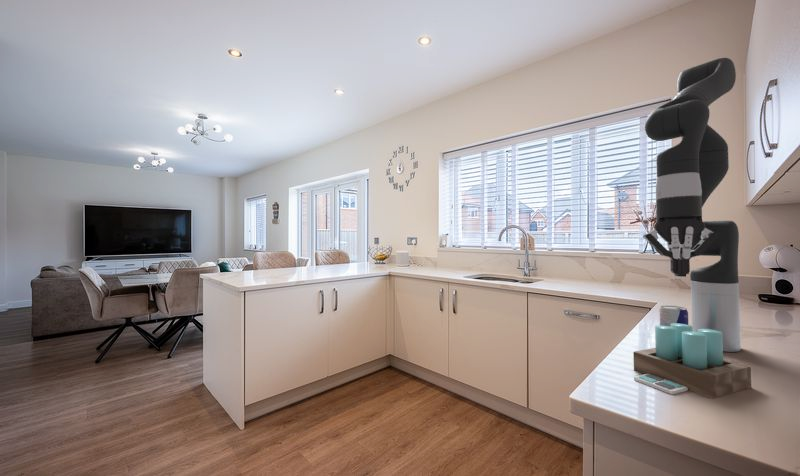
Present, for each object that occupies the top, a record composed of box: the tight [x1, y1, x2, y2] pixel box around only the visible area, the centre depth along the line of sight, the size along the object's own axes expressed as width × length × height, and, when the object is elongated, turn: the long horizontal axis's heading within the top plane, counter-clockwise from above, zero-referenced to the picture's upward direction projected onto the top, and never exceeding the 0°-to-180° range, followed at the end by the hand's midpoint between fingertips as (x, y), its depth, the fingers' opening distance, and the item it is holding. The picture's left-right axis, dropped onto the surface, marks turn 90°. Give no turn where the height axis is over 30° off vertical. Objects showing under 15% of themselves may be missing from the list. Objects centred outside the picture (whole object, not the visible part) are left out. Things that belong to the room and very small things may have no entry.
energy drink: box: [659, 305, 689, 327], centre depth 79 cm, size 5×5×12 cm
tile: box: [633, 373, 689, 395], centre depth 64 cm, size 4×7×1 cm, turn 19°
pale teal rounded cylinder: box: [654, 325, 678, 361], centre depth 69 cm, size 4×4×8 cm
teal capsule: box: [671, 323, 693, 356], centre depth 70 cm, size 4×4×8 cm
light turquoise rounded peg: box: [682, 331, 707, 371], centre depth 64 cm, size 4×4×8 cm
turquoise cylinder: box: [698, 329, 724, 367], centre depth 66 cm, size 4×4×8 cm
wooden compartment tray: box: [632, 347, 752, 399], centre depth 67 cm, size 12×14×4 cm
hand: (680, 276), depth 71 cm, fingers closed
